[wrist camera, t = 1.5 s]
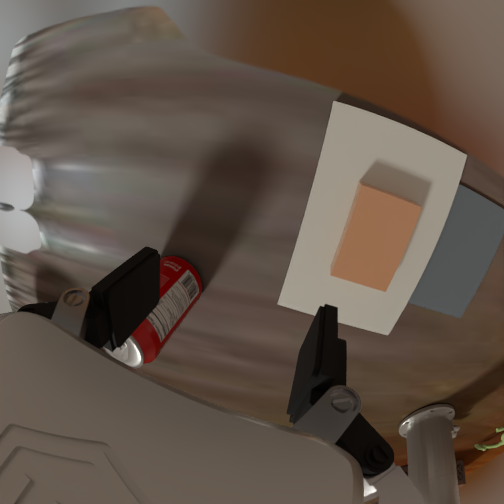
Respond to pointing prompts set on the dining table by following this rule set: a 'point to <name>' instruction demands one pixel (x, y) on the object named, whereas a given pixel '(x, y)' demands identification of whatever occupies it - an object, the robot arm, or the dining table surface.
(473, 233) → the mat
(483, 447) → the figurine
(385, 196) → the tile
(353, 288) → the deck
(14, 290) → the dining table surface
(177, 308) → the soda can
